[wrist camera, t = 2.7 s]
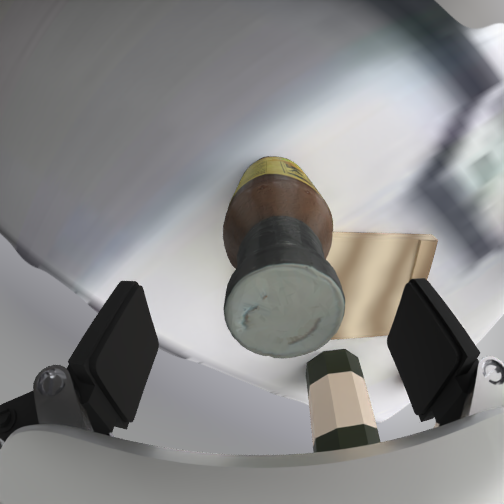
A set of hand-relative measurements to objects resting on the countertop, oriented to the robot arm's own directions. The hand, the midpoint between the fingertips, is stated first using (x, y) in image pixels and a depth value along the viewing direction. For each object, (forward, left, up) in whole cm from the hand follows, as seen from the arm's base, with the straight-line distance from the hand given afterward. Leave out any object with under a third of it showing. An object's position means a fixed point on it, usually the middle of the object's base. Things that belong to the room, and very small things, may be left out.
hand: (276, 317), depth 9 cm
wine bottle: (-10, +27, -20) cm, 34 cm away
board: (-8, +12, -19) cm, 24 cm away
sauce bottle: (0, 0, -20) cm, 20 cm away
